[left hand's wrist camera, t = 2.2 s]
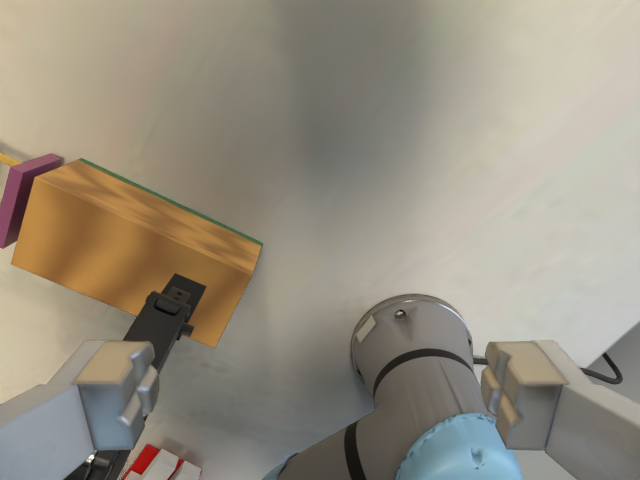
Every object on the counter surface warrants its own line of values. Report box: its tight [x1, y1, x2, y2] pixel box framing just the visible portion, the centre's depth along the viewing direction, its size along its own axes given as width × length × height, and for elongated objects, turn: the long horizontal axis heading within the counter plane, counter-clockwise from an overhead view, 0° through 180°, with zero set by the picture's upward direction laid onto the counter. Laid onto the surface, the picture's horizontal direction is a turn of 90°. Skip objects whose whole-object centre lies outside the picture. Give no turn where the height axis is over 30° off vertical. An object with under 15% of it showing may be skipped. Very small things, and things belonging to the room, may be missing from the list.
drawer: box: [0, 153, 61, 249], centre depth 46 cm, size 26×9×6 cm, turn 62°
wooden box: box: [11, 158, 263, 348], centre depth 47 cm, size 22×10×8 cm, turn 62°
